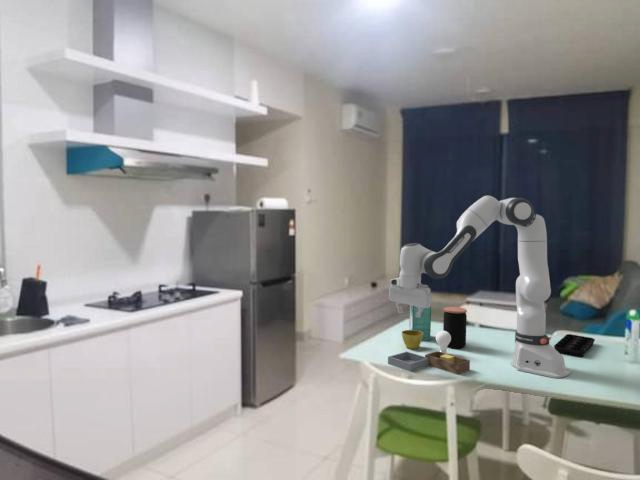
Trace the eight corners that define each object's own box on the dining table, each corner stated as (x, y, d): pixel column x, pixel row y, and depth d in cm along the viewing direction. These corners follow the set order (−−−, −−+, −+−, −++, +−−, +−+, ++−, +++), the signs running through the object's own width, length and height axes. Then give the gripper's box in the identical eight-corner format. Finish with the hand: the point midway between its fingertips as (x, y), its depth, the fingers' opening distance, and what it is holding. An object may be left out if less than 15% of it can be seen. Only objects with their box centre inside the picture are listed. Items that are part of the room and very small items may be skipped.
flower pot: (417, 352, 218) (417, 336, 218) (397, 348, 224) (397, 333, 224) (426, 347, 226) (426, 332, 226) (407, 343, 232) (407, 328, 232)
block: (453, 367, 196) (454, 356, 195) (448, 369, 193) (448, 358, 193) (445, 364, 199) (445, 354, 199) (439, 366, 196) (440, 356, 196)
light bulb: (440, 351, 219) (440, 328, 218) (453, 354, 214) (454, 330, 213) (432, 354, 214) (433, 330, 214) (445, 358, 210) (446, 333, 209)
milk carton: (430, 340, 238) (431, 290, 237) (412, 339, 238) (413, 290, 237) (426, 335, 247) (427, 287, 246) (409, 335, 248) (410, 287, 246)
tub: (428, 366, 198) (429, 358, 198) (410, 372, 190) (410, 363, 190) (406, 359, 207) (406, 351, 207) (387, 364, 200) (388, 356, 199)
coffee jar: (463, 343, 233) (464, 307, 232) (467, 349, 222) (469, 311, 221) (441, 342, 234) (442, 306, 233) (444, 348, 223) (445, 311, 222)
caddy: (469, 371, 193) (469, 360, 192) (457, 375, 187) (457, 364, 187) (436, 361, 205) (437, 351, 205) (424, 365, 200) (425, 354, 199)
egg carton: (594, 344, 235) (594, 336, 235) (598, 361, 209) (598, 352, 208) (554, 339, 243) (554, 332, 243) (553, 355, 217) (553, 347, 216)
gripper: (435, 284, 191) (434, 318, 192) (396, 278, 207) (395, 310, 208) (425, 286, 187) (424, 320, 188) (386, 279, 203) (386, 311, 204)
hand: (409, 315), depth 198 cm, fingers open, 8 cm apart
